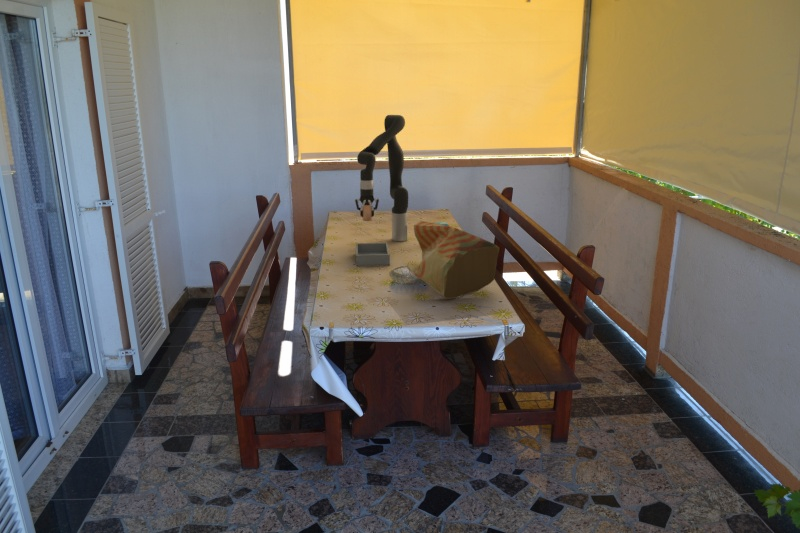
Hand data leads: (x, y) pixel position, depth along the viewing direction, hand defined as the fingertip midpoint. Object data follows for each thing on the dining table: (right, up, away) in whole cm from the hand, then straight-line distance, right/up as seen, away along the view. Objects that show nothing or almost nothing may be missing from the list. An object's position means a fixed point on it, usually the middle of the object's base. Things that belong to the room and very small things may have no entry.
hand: (367, 216), depth 368 cm
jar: (0, -2, +1) cm, 2 cm away
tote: (+4, -25, -13) cm, 28 cm away
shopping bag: (+43, -39, -57) cm, 82 cm away
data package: (+42, -15, +19) cm, 49 cm away
